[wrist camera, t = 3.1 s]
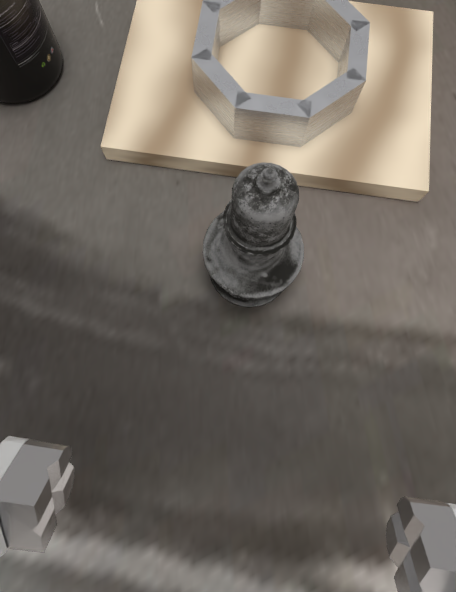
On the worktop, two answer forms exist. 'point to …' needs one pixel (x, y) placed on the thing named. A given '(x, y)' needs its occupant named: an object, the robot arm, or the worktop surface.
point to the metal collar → (271, 109)
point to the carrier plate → (282, 83)
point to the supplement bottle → (26, 51)
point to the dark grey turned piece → (256, 237)
